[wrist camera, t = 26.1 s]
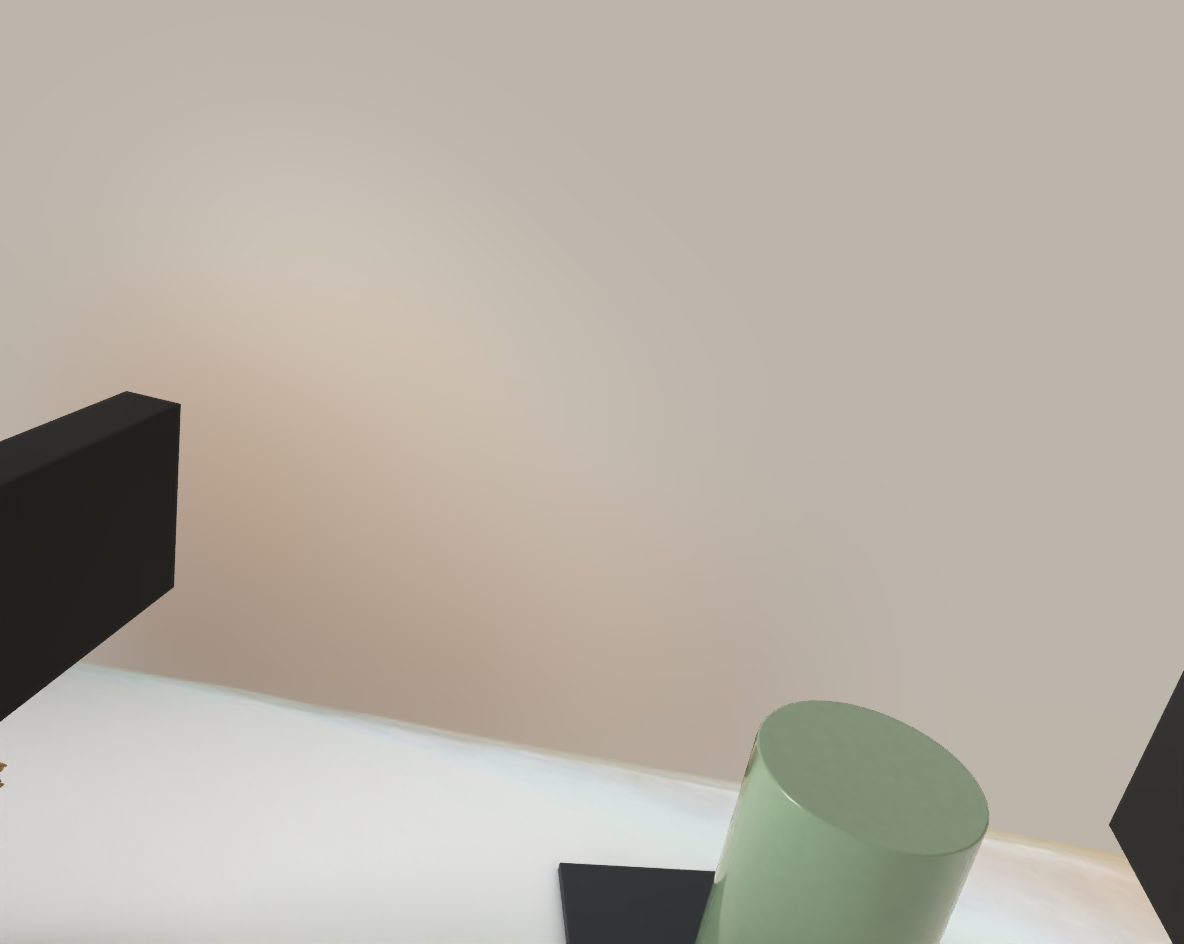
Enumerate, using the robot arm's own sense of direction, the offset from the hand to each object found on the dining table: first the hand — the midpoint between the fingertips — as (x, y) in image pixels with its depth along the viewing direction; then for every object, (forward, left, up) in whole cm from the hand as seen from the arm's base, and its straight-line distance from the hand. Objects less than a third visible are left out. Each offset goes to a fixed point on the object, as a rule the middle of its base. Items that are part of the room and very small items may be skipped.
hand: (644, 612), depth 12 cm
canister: (-11, +11, -22) cm, 27 cm away
